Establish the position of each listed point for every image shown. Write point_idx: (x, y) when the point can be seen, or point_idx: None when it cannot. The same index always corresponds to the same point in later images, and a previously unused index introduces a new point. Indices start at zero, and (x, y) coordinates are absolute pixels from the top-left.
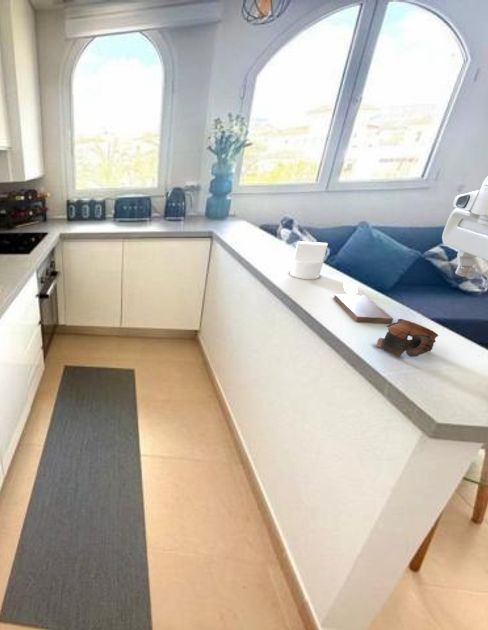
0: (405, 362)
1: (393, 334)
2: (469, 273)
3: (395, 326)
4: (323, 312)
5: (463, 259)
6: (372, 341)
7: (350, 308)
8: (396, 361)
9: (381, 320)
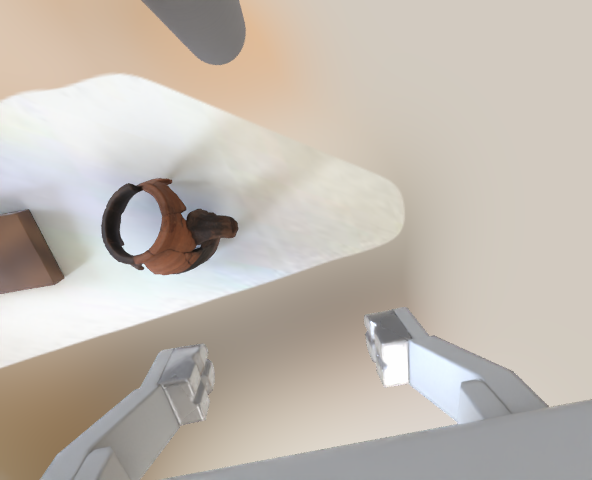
0: None
1: (186, 268)
2: (204, 365)
3: (163, 270)
4: (46, 329)
5: (139, 463)
6: None
7: (2, 291)
8: (238, 244)
9: (35, 234)
